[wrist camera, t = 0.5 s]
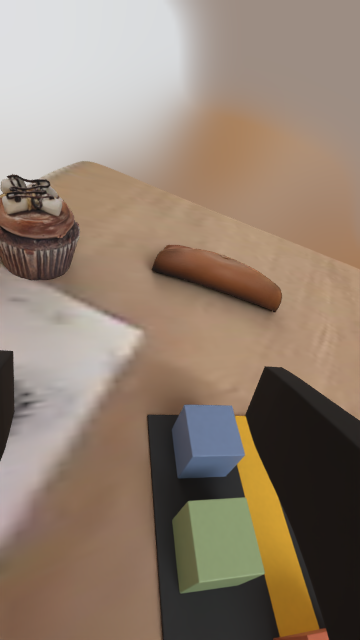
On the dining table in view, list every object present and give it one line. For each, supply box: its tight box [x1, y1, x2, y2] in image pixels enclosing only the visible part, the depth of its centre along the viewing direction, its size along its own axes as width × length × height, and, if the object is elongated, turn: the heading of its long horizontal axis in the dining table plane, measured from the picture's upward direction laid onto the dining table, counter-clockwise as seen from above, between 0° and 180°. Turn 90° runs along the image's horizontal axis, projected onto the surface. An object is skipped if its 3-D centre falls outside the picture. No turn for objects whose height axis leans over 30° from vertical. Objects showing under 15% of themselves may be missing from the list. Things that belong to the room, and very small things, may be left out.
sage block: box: [172, 497, 265, 594], centre depth 22 cm, size 4×4×4 cm
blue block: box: [172, 405, 245, 478], centre depth 27 cm, size 4×4×4 cm
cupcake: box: [0, 174, 80, 280], centre depth 37 cm, size 10×10×10 cm
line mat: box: [147, 415, 325, 640], centre depth 25 cm, size 21×18×1 cm
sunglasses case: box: [152, 245, 282, 312], centre depth 47 cm, size 18×7×7 cm
